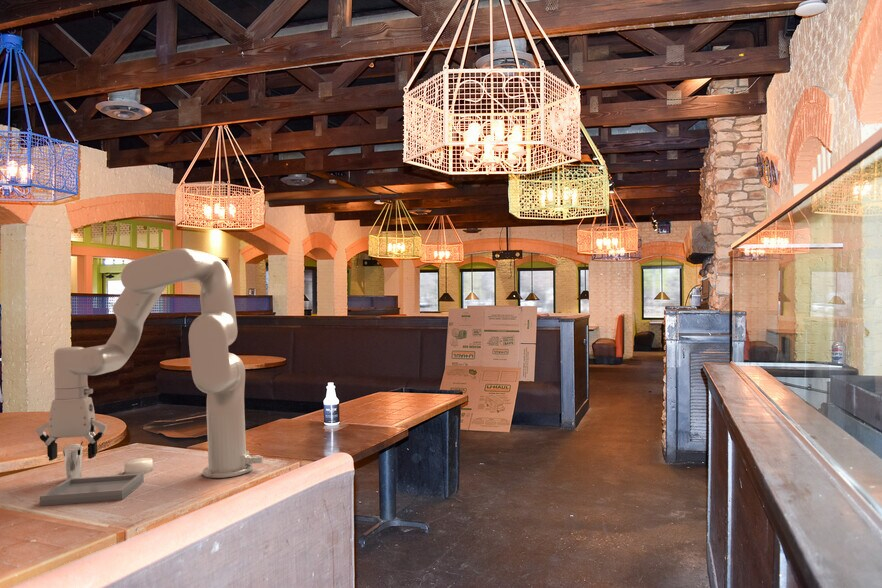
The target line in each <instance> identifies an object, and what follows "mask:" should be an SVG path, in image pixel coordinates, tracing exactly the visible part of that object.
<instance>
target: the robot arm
mask: <svg viewBox="0 0 882 588" xmlns="http://www.w3.org/2000/svg"><path fill="white" fill-rule="evenodd" d="M120 280H121V283H122V285H123V287H124V288H123V290H122V291H121V293H120V294H119V297H118V298H117V299H116V301H115V302H114V304H113V305H112V312H113V314H114V316H115V317H116V324H115V327H114V330H113V332H112V334H111V335H110V337H109V338H108V340H107V341H106V343H105V344H101V345H95V346H89V347H83V346H67V347H66V346H64V347H59V348H56V349H55V350H54V353H53V372H54V373H53V376H54V377H53V378H54V381H53V382H54V399H53V400H52V401H51V406H50V410H49V417H48V418H49V419H48V420H49V421H47V422H46V423H45V424H42V425H41V426H39V427H37V428H36V429H35V432H36V433H37V434H38V436H39V439H40V440H41V442H43V443H44V445H45V446H47V447H46V448H47V449H46V450H47V454H46V455H47V457H48V461H49V462H51V461H53V460H55V459H57V458H58V443H57V442H56V441H57V440H58V439H61V438H62V439H65V438H67V439H68V438H85V439H86V440H87V441H89V443H88V444H87V458H88V459H90V460H91V459H93V458H95V457H96V455H97V453H98V442H99V440H100V439H101V438H103V436H104V434H105V433H106V430H107V428H108V426H109V425H108V424H105V423H103V422H102V421H99V420H98V419H96V413H95V407H94V403H93V398H92V397H91V396H90V395H91V394H93V393H94V388H90V387H89V385H88V384H89V383H88V376H99V375H103V374H107V373H110V372H111V373H112V372H115V371H117V370H120V369H121V368H122V367H123V366H124V365H125V364H126V363H127V362H128V360H129V359H130V357H131V356H132V354H133V352H134V351H135V349H136V348H137V346H138V344H139V343H140V340H141V336H142V333H143V329H144V324H145V322H146V319H147V318H148V316H149V314H150V313H151V311H152V310H153V308H154V306H155V305H156V303H157V302H158V300H159V299H160V297H161V296H162V294H163V293H164V291H165V290H166V288H167V286H171V285H173V284H174V285H175V284H178V283H183V282H185V283H187V282H188V283H198V284H199V285H200V293H199V301H200V310H201V311H200V312H201V314H200V315H199V316H197V317H196V318H195V319H193V321H192V323H191V324H190V326H189V331H188V346H189V349H188V350H189V358H190V369H191V376H192V380H193V383H194V385H195V387H196V388H197V389H198V390H199V391H201V392H202V393H204V394H207V395H206V429H207V431H206V432H207V436H206V437H207V459H208V461H207V462H208V466H206V467H204V468H203V469H202V475H203V476H204V477H205V478H211V479H212V478H214V479H224V478H231V477H238V476H241V475H245V474H247V473H249V472H251V471H252V470H253V464H256V465H257V464H263V462H264V456H263V455H260V454H254V455H252V454H250V451H249V450H247V444H246V419H245V418H246V417H245V414H246V413H245V386H246V385H245V384H246V368H245V365H244V362H243V361H242V359H241V357H239V356H238V355H236V354H234V353H231V352H229V346H231V345H232V344H233V343H234V342H235V341H236V339H237V337H238V324H237V323H238V321H237V312H236V305H235V304H236V303H235V295H234V287H233V279H232V275H231V271H230V270H229V268H228V266H227V265H226V263H225V262H224V261H223V260H222V259H220V258H219V257H217V256H215V255H214V254H211V253H208V252H205V251H203V250H202V251H201V250H197V249H191V248H185V247H184V248H183V247H182V248H180V247H179V248H174V249H170V250H169V249H168V250H165V251H163V252H159V253H155V254H151V255H148V256H143V257H140V258H137V259H134V260H132V261H130V262H128V263H127V264H126V265H125V266H124V267H123V268H122V271H121V274H120ZM47 429H48V434H49V435H48V434H47V432H46V430H47ZM97 429H98V432H97V433H95V431H97Z"/></svg>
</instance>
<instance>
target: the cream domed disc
mask: <svg viewBox="0 0 882 588" xmlns="http://www.w3.org/2000/svg"><path fill="white" fill-rule="evenodd" d="M123 466H124V467H123V469H124V475H127V474H141V473H143V474H144V475H145V474H149V473H151V472H153V470H154V459H153V458H151V457H142V458H141V457H138V458H134V459H129V460H126V461H125V462H124V464H123Z"/></svg>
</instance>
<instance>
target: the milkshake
mask: <svg viewBox="0 0 882 588" xmlns="http://www.w3.org/2000/svg"><path fill="white" fill-rule="evenodd" d="M83 442H84V440H81V443H76V444H75V443H69V444H67V445H65V446H64V447H63V449H62V455H63V460H64V468H65V476H66V480H67V479H71V478H82V466H83V465H82V463H83V451H84V450H83V448H84V447H83Z"/></svg>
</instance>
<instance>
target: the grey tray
mask: <svg viewBox="0 0 882 588" xmlns="http://www.w3.org/2000/svg"><path fill="white" fill-rule="evenodd" d="M144 475H145V474H143V473H141V474H127V475H125V474H115V475H113V474H112V475H102V476H100V475H99V476H90V477H89V476H88V477H81V478H71V479H67V478H66V480H64V481H62V482H61V483H59V484H58V485H56V486H54V487H53V488H51V489H49V490H48V491H46V492H44V493H43V494H41V495H39V506H40V507H42V506H45V507H46V506H55V505H56V506H58V505H59V506H60V505H69V504H71V505H72V504H83V503H84V504H85V503H95V502H96V503H97V502H110V501H111V502H113V501H123V500H125V498H126V497H127V496H129V495H130V494H131V493H132V492H133V491H135V490H136V489H137V488H138V487H140V486H141V485H143V483H144V482H145V476H144Z"/></svg>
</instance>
